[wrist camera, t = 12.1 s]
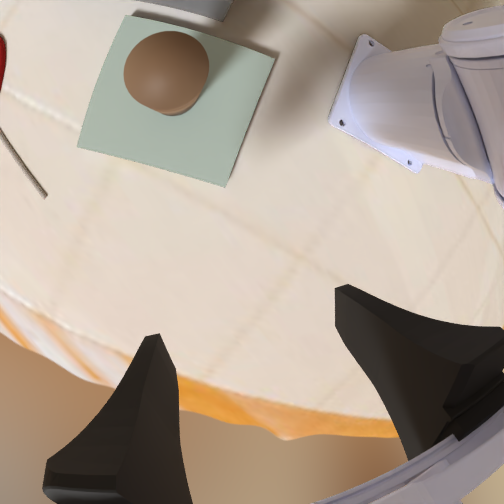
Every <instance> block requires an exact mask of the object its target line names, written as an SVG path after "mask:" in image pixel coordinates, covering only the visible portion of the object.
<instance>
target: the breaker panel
mask: <svg viewBox="0 0 504 504" xmlns="http://www.w3.org/2000/svg"><path fill="white" fill-rule="evenodd" d="M136 1H142V2H148V3H153V4H158V5H163V6H167V7H172V8H176V9H180V10H184V11H188V12H192V13H195V14H199V15H202V16H206V17H209V18H212V19H216V20H219V21H222V22H223V20H224V18H225V16H226V14H227V12H228V10H229V8H230V6H231V4H232V2H233V0H136Z"/></svg>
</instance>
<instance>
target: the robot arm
mask: <svg viewBox="0 0 504 504" xmlns="http://www.w3.org/2000/svg"><path fill="white" fill-rule="evenodd" d="M369 42H371V44H372V46H370V45H369ZM438 42H439V44H432V45H426V46H420V47H414V48H409V49H404V50H399V51H394V52H392V51H390V50H389V49H387V48H386V47H385V46H383V45H382V44H380V43H379V42H377V41H376V40H374V39H373V38H371V37H370V36H368V35H366V34H362V35H360V36H359V37H358V40H357V42H356V45H355V48H354V50H353V53H352V56H351V59H350V61H349V64H348V67H347V69H346V72H345V75H344V77H343V80H342V82H341V85H340V88H339V90H338V93H337V96H336V98H335V101H334V103H333V106H332V109H331V111H330V114H329V116H328V122H329V124H330V125H332V126H333V127H335V128H337V129H339V130H341V131H343V132H345V133H347V134H349V135H351V136H353V137H354V138H356V139H358V140H360V141H362V142H364V143H365V144H367V145H369V146H371V147H372V148H374V149H376V150H378V151H379V152H381V153H383V154H385V155H386V156H388V157H390V158H391V159H393V160H395V161H396V162H398V163H399V164H401V165H403V166H404V167H406V168H407V169H409V170H410V171H412V172H414V173H419V172H420V171H421V168H422V165H423V164H426V165H430V166H433V167H437V168H440V169H443V170H446V171H450V172H453V173H456V174H459V175H462V176H465V177H468V178H473V179H479V180H482V181H485V182H487V183H490V184H493V188H494V193H495V196H496V198H497V201H498V202H499V204H500V205H501V207H502V208H503V209H504V5H500V6H493V7H488V8H484V9H480V10H476V11H473V12H470V13H467V14H464V15H461V16H459V17H457V18H455V19H453V20H451V21H449V22H448V23H446V24H445V25H444V27H443V30H442V33H441V35H440V37H439V39H438ZM340 120H343V125H342V126H341V125H340V124H339V121H340ZM408 160H409V164H408ZM335 327H336V329H337V331H338V333H339V335H340V337H341V338H342V340H343V342H344V344H345V346H346V347H347V348H348V350H349V351H350V353H351V354H352V355H353V357H354V358H355V360H356V361H357V362H358V364H359V365H360V367H361V368H362V369H363V371H364V372H365V373H366V375H367V376H368V378H369V379H370V380H371V382H372V384H373V385H374V387H375V388H376V390H377V392H378V394H379V396H380V397H381V399H382V401H383V403H384V405H385V407H386V409H387V411H388V413H389V415H390V417H391V419H392V421H393V423H394V426H395V428H396V430H397V433H398V435H399V437H400V439H401V442H402V445H403V447H404V450H405V453H406V455H407V458H408V462H406V463H404V464H403V465H401V466H399V467H397V468H395V469H393V470H391V471H389V472H387V473H385V474H383V475H381V476H379V477H377V478H375V479H372V480H370V481H368V482H366V483H364V484H361V485H359V486H357V487H354V488H352V489H349V490H347V491H345V492H342V493H339V494H337V495H334V496H331V497H329V498H326V499H323V500H320V501H317V502H314V503H311V504H368V503H370V502H372V503H370V504H463V503H462V502H461V500H460V499H462V498H463V497H465V496H466V495H467V494H469V493H470V492H471V491H472V490H474V489H475V488H476V487H477V486H479V485H480V484H481V483H482V482H484V481H485V480H486V479H487V478H488V477H489V476H491V475H492V474H493V473H494V472H495V471H496V470H497V469H499V468H500V467H501V466H502V465H503V464H504V373H503V372H502V370H503V369H504V330H503V329H502V328H501V327H482V326H469V325H460V324H454V323H449V322H444V321H439V320H435V319H431V318H428V317H425V316H421V315H418V314H415V313H412V312H409V311H407V310H404V309H402V308H399V307H397V306H394V305H392V304H390V303H388V302H385V301H383V300H381V299H379V298H377V297H375V296H373V295H370V294H368V293H366V292H364V291H362V290H360V289H358V288H356V287H354V286H351V285H349V284H346V285H343V286H340V287H337V288H335ZM405 485H407V486H405ZM403 486H405V487H403ZM401 487H403V488H401ZM399 488H401V489H399ZM42 489H43V492H44V494H45V495H46V496H47V497H48V498H49V499H51V500H52V501H54V502H55V503H57V504H193V503H192V499H191V495H190V491H189V487H188V483H187V478H186V473H185V468H184V463H183V458H182V452H181V446H180V431H179V389H178V381H177V374H176V368H175V366H174V364H173V362H172V360H171V358H170V356H169V353H168V351H167V349H166V347H165V345H164V342H163V340H162V338H161V336H160V333H159V334H154V335H150V336H145V338H144V340H143V341H142V343H141V345H140V347H139V349H138V351H137V353H136V355H135V356H134V358H133V360H132V362H131V364H130V366H129V368H128V369H127V371H126V373H125V375H124V377H123V378H122V380H121V382H120V383H119V385H118V386H117V388H116V390H115V391H114V393H113V394H112V396H111V397H110V399H109V400H108V401H107V403H106V404H105V405H104V407H103V408H102V409H101V411H100V412H99V413H98V414H97V415H96V416H95V418H94V419H93V420H92V421H91V422H90V423H89V424H88V425H87V427H86V428H85V429H84V430H83V431H82V432H81V433H80V434H79V435H78V436H77V437H76V438H74V439H73V440H72V441H71V442H70V443H69V444H67V445H66V446H65V447H64V448H63V449H61V450H60V451H58V452H57V453H56V454H55V455H53V456H52V457H50V458H49V459H48V460H47V463H46V469H45V475H44V481H43V488H42ZM397 489H399V490H397ZM395 490H396V491H395ZM393 491H395V492H393ZM391 492H393V493H391ZM389 493H391V494H389ZM387 494H389V495H387ZM385 495H387V496H385ZM383 496H385V497H383ZM381 497H383V498H381ZM379 498H380V499H379ZM377 499H378V500H377ZM375 500H376V501H375ZM373 501H374V502H373Z"/></svg>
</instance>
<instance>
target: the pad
mask: <svg viewBox="0 0 504 504" xmlns="http://www.w3.org/2000/svg"><path fill="white" fill-rule="evenodd" d="M163 31H178V32H183V33H186V34H188V35H190V36H192V37H194V38H195V39H196V40H198V41H199V42H200V43H201V45H202V46H203V47H204V49H205V51H206V53H207V55H208V59H209V73H208V77H207V80H206V82H205V85H204V87H203V89H202V91H201V93H200V95H199V97H198V99H197V101H196V103H195V105H194V106H193V107H192V108H191V109H190V110H189V111H188V112H186V113H184V114H182V115H178V116H166V115H163V114H161V113H159V112H157V111H155V110H152V109H150V108H148V107H146V106H144V105H142V104H140V103H139V102H137V101H136V100H135V99H134V98H133V97H132V96H131V95H130V93H129V92H128V90H127V88H126V86H125V82H124V74H123V73H124V66H125V62H126V59H127V57H128V55H129V53H130V52H131V51H132V49H133V48H134V47H135V46H136V45H137V44H138V43H139V42H140V41H142V40H143V39H144V38H146V37H148V36H150V35H152V34H155V33H158V32H163ZM274 61H275V59H274V58H272V57H269V56H267V55H264V54H262V53H259V52H257V51H254V50H252V49H249V48H246V47H244V46H241V45H238V44H235V43H232V42H230V41H227V40H224V39H221V38H218V37H215V36H211V35H208V34H205V33H202V32H198V31H195V30H191V29H187V28H184V27H180V26H176V25H172V24H168V23H164V22H159V21H155V20H150V19H145V18H140V17H134V16H129V15H125V17H124V19H123V21H122V23H121V26H120V28H119V30H118V32H117V34H116V36H115V38H114V41H113V43H112V45H111V47H110V50H109V52H108V54H107V57H106V59H105V62H104V64H103V67H102V69H101V72H100V74H99V77H98V80H97V83H96V85H95V88H94V91H93V94H92V97H91V100H90V103H89V106H88V109H87V112H86V116H85V119H84V122H83V126H82V129H81V133H80V136H79V140H78V144H77V147H78V148H83V149H87V150H91V151H95V152H99V153H103V154H107V155H111V156H115V157H119V158H123V159H127V160H131V161H134V162H138V163H142V164H146V165H149V166H153V167H156V168H160V169H164V170H167V171H171V172H174V173H178V174H181V175H185V176H188V177H191V178H195V179H198V180H202V181H205V182H208V183H211V184H215V185H218V186H221V187H224V188H225V187H226V184H227V182H228V179H229V176H230V173H231V171H232V168H233V165H234V162H235V160H236V157H237V154H238V152H239V149H240V146H241V144H242V141H243V138H244V136H245V133H246V130H247V128H248V125H249V123H250V120H251V118H252V115H253V112H254V110H255V107H256V105H257V102H258V100H259V97H260V95H261V92H262V90H263V87H264V85H265V83H266V80H267V78H268V75H269V73H270V70H271V68H272V66H273V63H274Z"/></svg>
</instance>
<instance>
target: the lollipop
mask: <svg viewBox="0 0 504 504" xmlns="http://www.w3.org/2000/svg"><path fill="white" fill-rule="evenodd" d="M5 62H6V48H5V43H4V41H3V39H2V38H1V37H0V90H1V86H2V81H3V76H4V70H5ZM0 139H1V140H2V142H3V143H4V145H5V146H6V148H7V149H8V151H9V152H10V154H11V155H12V157H13V158H14V160H15V161H16V163H17V164H18V165H19V167H20V168H21V170H22V171H23V172H24V174H25V175H26V177H27V178H28V179H29V181H30V182H31V183H32V185H33V186H34V187H35V189H36V190H37V191H38V193H39V194H40V195H41V196H42V198H43V199H45V198H46V197H47V195H46V194H45V192H44V191H43V190H42V188H41V187H40V186H39V184H38V183H37V182H36V181H35V179H34V178H33V176H32V175H31V174H30V172H29V171H28V170H27V168H26V167H25V165H24V164H23V163H22V161H21V160H20V158H19V157H18V156H17V154H16V153H15V151H14V150H13V148H12V147H11V145H10V144H9V142H8V141H7V139H6V138H5V136H4V135H3V133H2V132H1V130H0Z"/></svg>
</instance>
